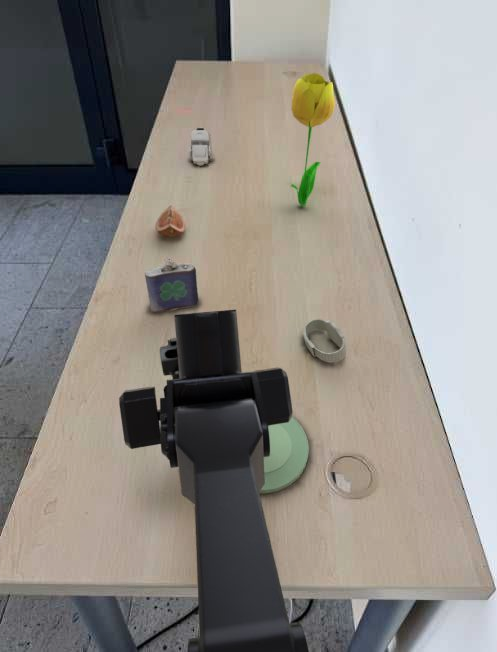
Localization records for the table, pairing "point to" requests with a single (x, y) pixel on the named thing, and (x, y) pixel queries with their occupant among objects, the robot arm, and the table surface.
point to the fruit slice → (170, 223)
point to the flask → (172, 286)
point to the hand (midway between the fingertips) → (203, 397)
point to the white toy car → (200, 146)
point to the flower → (311, 119)
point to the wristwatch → (333, 333)
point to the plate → (285, 456)
